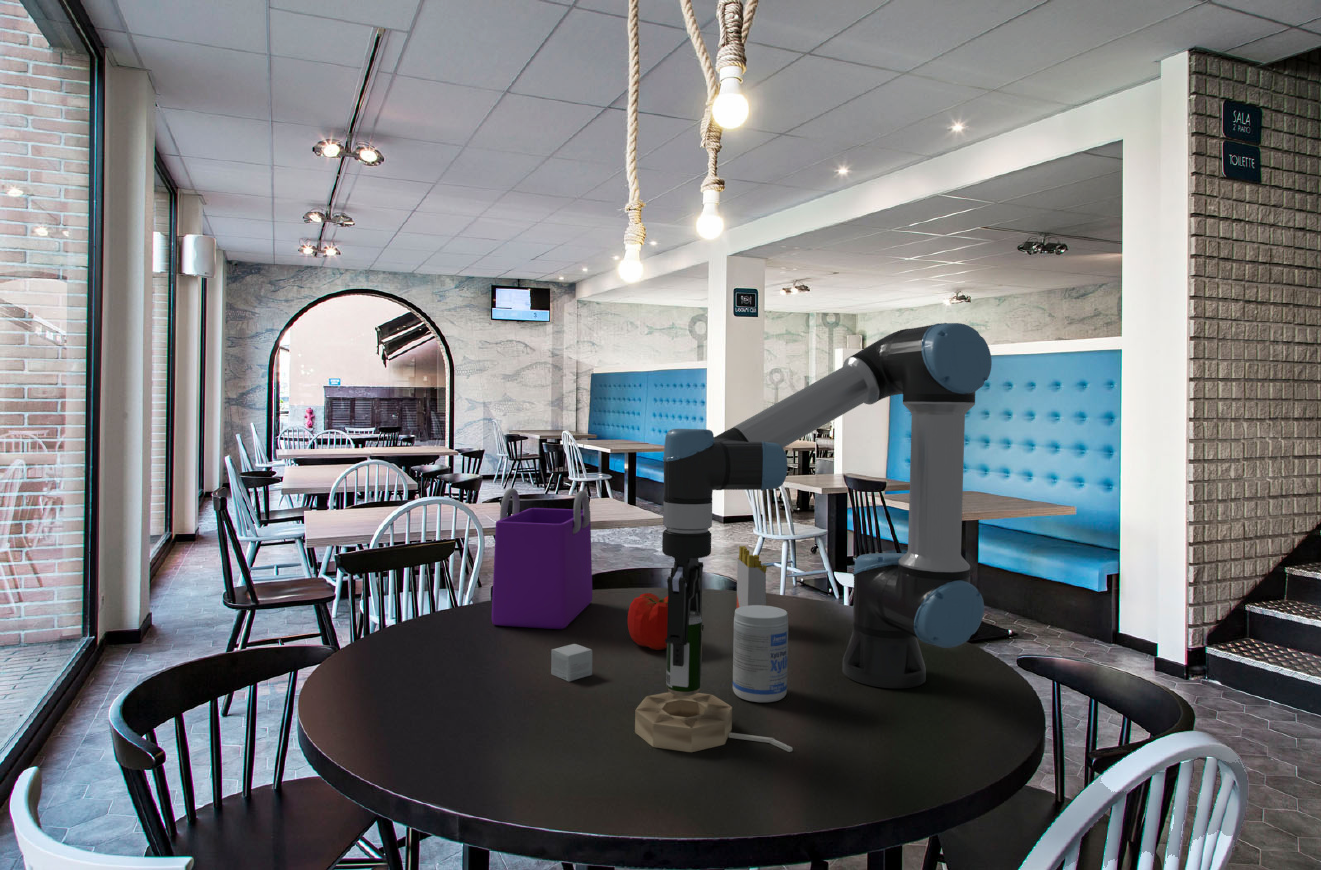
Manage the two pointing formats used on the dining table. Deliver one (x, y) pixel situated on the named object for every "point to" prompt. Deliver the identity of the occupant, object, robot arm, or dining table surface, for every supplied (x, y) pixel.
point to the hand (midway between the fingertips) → (684, 678)
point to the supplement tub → (760, 653)
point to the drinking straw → (761, 740)
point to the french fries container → (750, 579)
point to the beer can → (694, 658)
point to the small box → (571, 662)
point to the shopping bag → (541, 564)
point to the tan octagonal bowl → (683, 721)
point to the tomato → (648, 621)
